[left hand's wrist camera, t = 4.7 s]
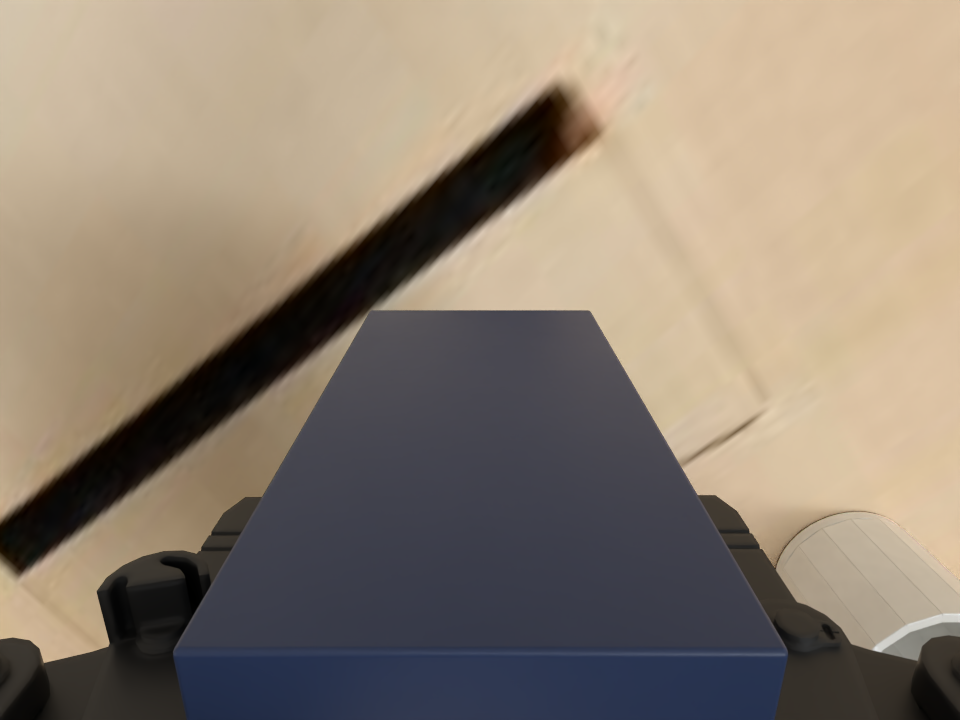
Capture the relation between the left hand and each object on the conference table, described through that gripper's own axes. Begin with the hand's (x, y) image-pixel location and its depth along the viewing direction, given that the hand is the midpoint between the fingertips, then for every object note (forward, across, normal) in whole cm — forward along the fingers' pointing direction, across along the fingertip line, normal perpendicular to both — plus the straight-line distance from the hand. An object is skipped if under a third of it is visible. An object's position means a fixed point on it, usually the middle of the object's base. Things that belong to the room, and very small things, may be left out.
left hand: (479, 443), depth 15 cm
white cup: (+11, +17, -12) cm, 24 cm away
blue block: (+1, 0, -9) cm, 9 cm away
